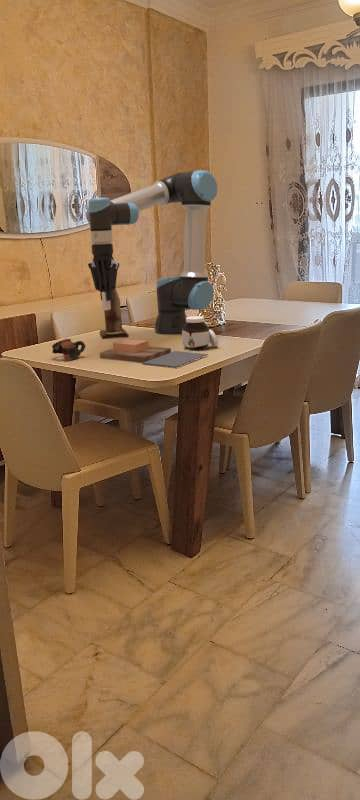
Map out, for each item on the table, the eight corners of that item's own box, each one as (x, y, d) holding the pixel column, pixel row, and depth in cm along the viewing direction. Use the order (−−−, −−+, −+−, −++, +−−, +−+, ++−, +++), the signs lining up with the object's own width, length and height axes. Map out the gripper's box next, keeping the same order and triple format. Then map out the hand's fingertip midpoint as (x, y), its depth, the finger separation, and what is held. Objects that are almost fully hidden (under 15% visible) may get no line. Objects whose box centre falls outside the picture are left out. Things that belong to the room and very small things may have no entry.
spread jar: (179, 348, 240) (178, 317, 236) (200, 343, 247) (199, 313, 244) (202, 352, 231) (201, 320, 228) (223, 347, 239) (222, 316, 236)
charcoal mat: (175, 352, 233) (175, 351, 233) (208, 355, 225) (207, 354, 225) (142, 364, 217) (142, 362, 217) (176, 368, 209) (176, 366, 209)
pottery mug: (58, 364, 225) (49, 343, 226) (58, 370, 234) (50, 350, 235) (89, 352, 228) (80, 331, 229) (89, 358, 237) (80, 338, 238)
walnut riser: (127, 349, 242) (127, 344, 242) (171, 353, 232) (170, 348, 231) (100, 357, 230) (100, 352, 229) (145, 363, 219) (144, 357, 218)
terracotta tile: (127, 346, 237) (126, 338, 236) (148, 348, 232) (148, 340, 231) (113, 351, 231) (112, 342, 230) (135, 353, 225) (134, 344, 224)
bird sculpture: (103, 340, 264) (98, 261, 254) (98, 334, 275) (93, 259, 265) (129, 338, 267) (125, 260, 257) (124, 332, 277) (120, 257, 267)
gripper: (81, 244, 226) (86, 310, 233) (109, 243, 219) (114, 312, 226) (94, 242, 232) (99, 307, 239) (123, 242, 225) (127, 308, 232)
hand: (106, 309), depth 232 cm, fingers closed
